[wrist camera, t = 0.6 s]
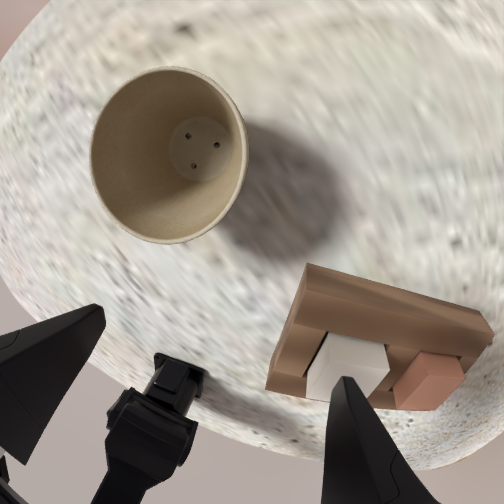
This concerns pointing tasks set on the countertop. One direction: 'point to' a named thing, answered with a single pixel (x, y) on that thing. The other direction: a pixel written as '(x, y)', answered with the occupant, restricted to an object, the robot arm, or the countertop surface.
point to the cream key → (346, 365)
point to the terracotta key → (427, 381)
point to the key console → (370, 329)
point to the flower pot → (168, 155)
